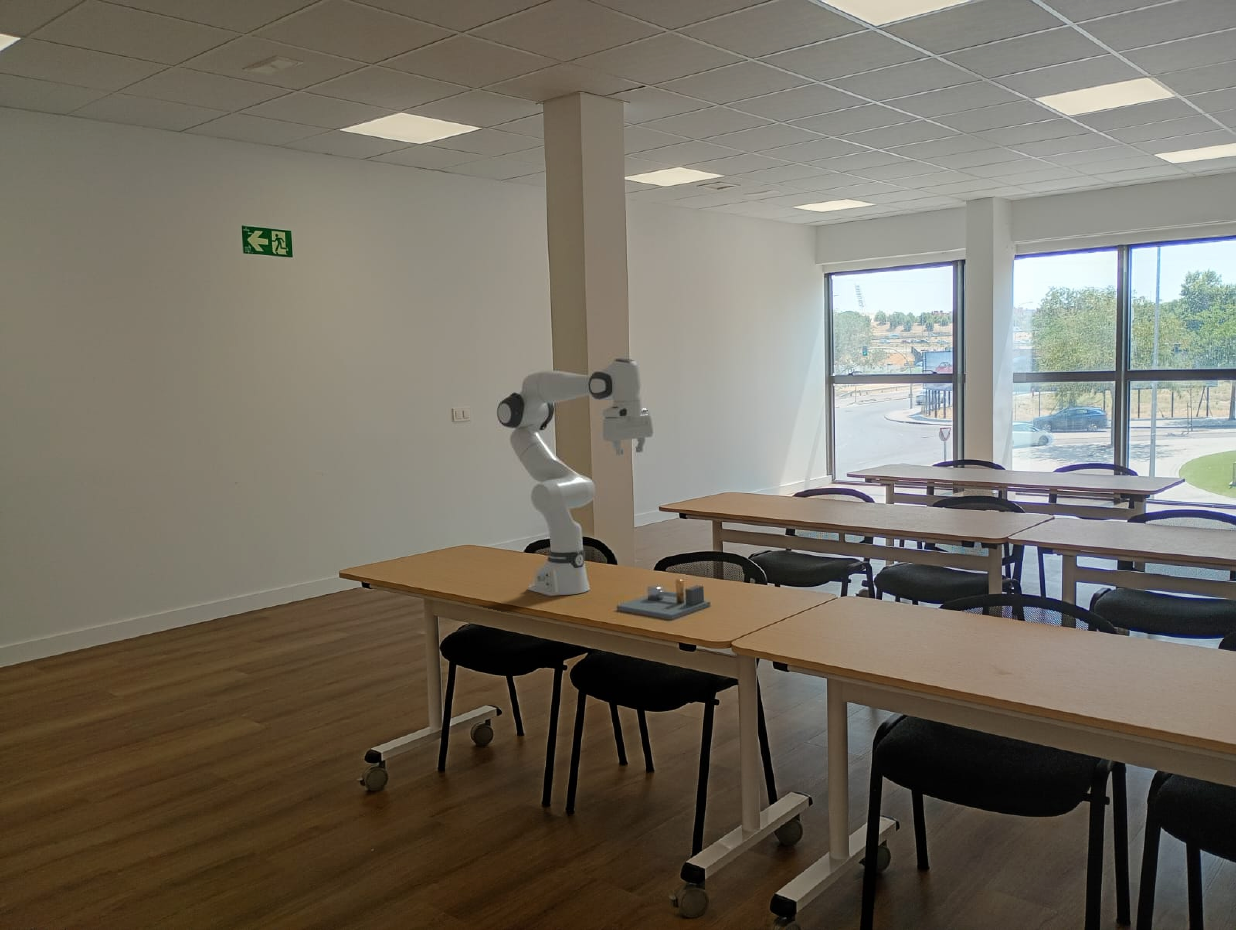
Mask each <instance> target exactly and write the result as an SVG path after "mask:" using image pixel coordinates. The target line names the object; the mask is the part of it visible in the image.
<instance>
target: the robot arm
mask: <svg viewBox="0 0 1236 930" xmlns="http://www.w3.org/2000/svg"><path fill="white" fill-rule="evenodd" d="M640 390H641V374H640V368H639V365H638V362H637V361H636V360H633V359H631V358H630V359H629V358H615V359H614V360H612V362H611V363H610V364H609V365H607V366H606V367H605V368H602V369H600V370H597V371H594V372H593V373H592V374H590V375H587V374H579V373H574V372H567V371H562V370H542V371H537V372H534V373H531V374H528V375H527V376H525V378H524V379H523V381H522V384H521V391H520V392H519V393H517V392H512V393H511V394H509V396H507V397H505V398H503V399H502V400H501V401H500V402H499V404H498V406H497V411H496V416H497V419H498V422H499V423H500V424H501V426H503V427H506V428H510V429H514V430H513V431H512V432H511V434H510V437H509V441H510V445H511V447H512V449H513V451H514V453H515V456H516V457H517V458H518V460H519V461H520V463H521V464H522V466H523V467H524V469H525V470H526V471H527V473H528V474H529V476H530V477H531V478H532V479H534V480H535V481H537V482H539V483H537V484H536V485H534V486H533V488H532V490H531V495H530V498H531V499H530V500H531V503H532V505H533V507H534V508H535V510H537V511H538V512H539V513H540V514H541V515H542V516H543V518H544V520H545V522H546V524H547V527H548V532H549V533H548V534H549V542H550V550H549V551H546V552H545V555H544V556H545V557H546V556H547V561H546V562H545V563H544V564H542V566H541V567H539V568H538V569H537V570H536V571H535V573H534V582H533V583H532V584H530V585H529V586H528V587H527V590H528V591H531V592H536V593H539V594H541V595H545V596H549V597H553V596H565V595H566V596H568V595H577V594H581V593H582V594H583V593H586V592H587V591H590V589H591V587H590V582H589V581H588V575H587V569H586V564H585V559H586V556H585V555H586V553H585V549H584V547H583V545H584V544H583V528H582V526H581V524H580V523H578V522H577V521H576V520H574V519H573V517H572V514H571V513H572V512H571V509H577V508H582V507H584V506H585V505H588V504H590V503H591V502H592V501H593V500H594V499H595V495H596V486H595V483H594V482H593V481H592V479H591V478H589V477H588V476H585V475H582V474H580V473H578V472H576V471H575V470H573V469H572V468H570V467H569V466H568V465H566V463H564V462H563V461H562V460H561V459H560V458H558V456H557V455H556V454H555V452H554V451H553V450H552V448H551V447H550V446H549V445H548V443H547V442H546V440H544V438H543V436H542V435H541V432H540V431H545V429H547V427H548V424H549V423H550V422H551V421H552V419H553V417H554V413H555V405H554V404H557V403H562V402H563V403H564V402H566V401H570V400H574V399H577V398H578V399H579V398H582V397H586V396H591V397H592V398H594V400H599V401H610V400H612V403H613V404H612V405H611V406H609V407H607V408H605V409H603V410H602V414H601V415H602V417H603V418H604V419H603V421H602V436H603V440H604V441H605V442H609V443H612V445H613V447H614V449H615V455H616V456H623V455H624V448H623V449H622V447H621V443H622V441H628V440H635V439H636V440H637V442H638V443H637V446H635V452H636V453H643V451H644V449H643V448H644V445H645V442H646V438H651V437H652V436H653V434H654V431H653V422H652V417H651V413H650V411H649V410H648V409H647V408H642V397H641V394H640V393H641V392H640Z"/></svg>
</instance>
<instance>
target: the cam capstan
mask: <svg viewBox="0 0 1236 930" xmlns="http://www.w3.org/2000/svg"><path fill="white" fill-rule="evenodd" d="M684 584H685V583H684V579H682V578H678V579H675V590H676V591H670V590H664V586H662V585H649V586H647V589H646V590H647V596H648V599H649V600H661V599H663V598H664V596H670V597H676V599H677V603H684V598H685V589H684ZM663 595H664V596H663Z"/></svg>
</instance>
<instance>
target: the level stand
mask: <svg viewBox="0 0 1236 930" xmlns="http://www.w3.org/2000/svg"><path fill="white" fill-rule="evenodd" d="M704 594H705V593H704V586H703V585H698V584H697V585H694V586H691V587H687V588H685V589H684V595H685V597H684V603H677V599H676V597H670V596H664V595H663V596H664V598H663V599H661V600H649V599H648V595H646V596H645V595H644V596H642V597H639V598H636V599H634V600H633V599H632V600H629V601H627V602H623V603H621V604H620V603H619V604H617V605H616V611H620V612H625V613H632V614H637V615H642V616H648V617H653V618H658V619H663V620H664V619H665V620H669V621H670V620H671V621H673V620H676V619H678V618H682V617H684V616H687V615H690V614H692V613H696V612H699V611H701V610H705V609H707V608H710V607H711V601H709V600H705V595H704Z"/></svg>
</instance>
